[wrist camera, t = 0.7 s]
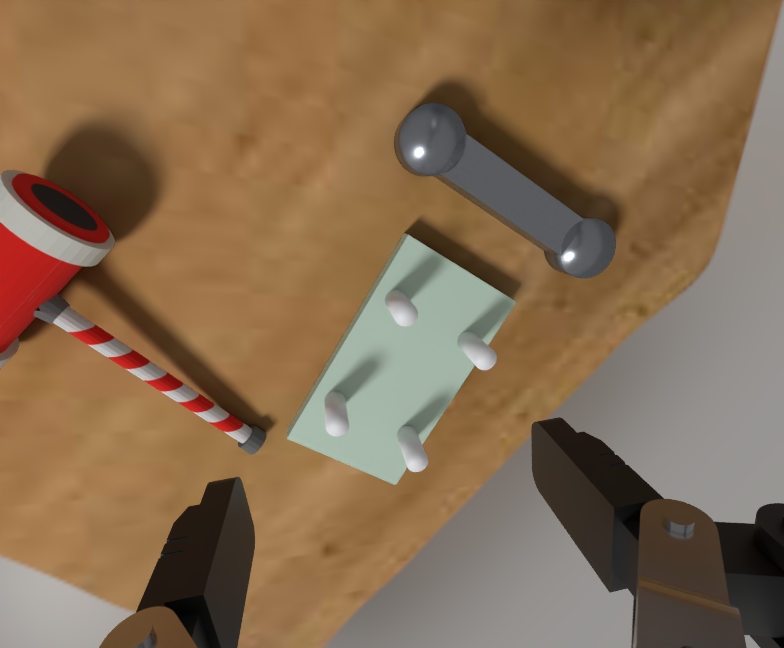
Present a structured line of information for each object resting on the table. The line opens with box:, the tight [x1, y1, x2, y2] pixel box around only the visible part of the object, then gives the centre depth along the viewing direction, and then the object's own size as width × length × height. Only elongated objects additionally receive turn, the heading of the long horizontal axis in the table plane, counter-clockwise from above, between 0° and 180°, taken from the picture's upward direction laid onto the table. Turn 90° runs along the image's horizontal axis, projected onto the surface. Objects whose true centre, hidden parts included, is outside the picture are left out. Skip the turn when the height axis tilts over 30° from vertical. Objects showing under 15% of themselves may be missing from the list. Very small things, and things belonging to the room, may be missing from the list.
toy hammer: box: [0, 170, 266, 454], centre depth 30 cm, size 23×12×6 cm, turn 44°
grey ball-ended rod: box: [394, 103, 616, 278], centre depth 33 cm, size 18×4×3 cm, turn 59°
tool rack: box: [287, 233, 516, 485], centre depth 34 cm, size 18×10×6 cm, turn 149°
